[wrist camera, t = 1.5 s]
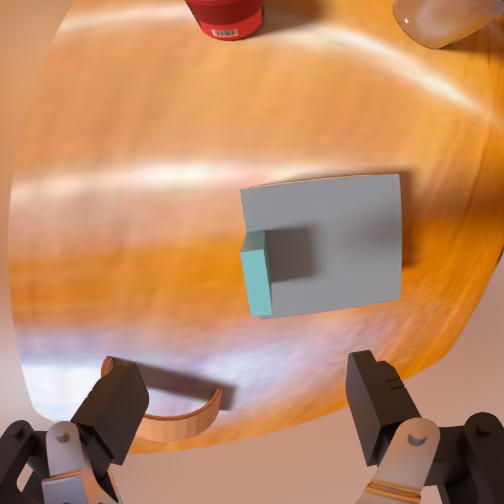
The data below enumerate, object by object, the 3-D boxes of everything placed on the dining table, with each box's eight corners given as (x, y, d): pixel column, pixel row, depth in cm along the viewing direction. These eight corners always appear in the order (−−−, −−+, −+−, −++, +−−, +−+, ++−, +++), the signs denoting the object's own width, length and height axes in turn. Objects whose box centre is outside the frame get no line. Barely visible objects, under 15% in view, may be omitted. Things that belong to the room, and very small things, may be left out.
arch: (218, 410, 42) (209, 456, 33) (110, 378, 42) (85, 415, 33) (223, 387, 41) (213, 436, 31) (107, 354, 41) (78, 391, 31)
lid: (390, 173, 25) (432, 177, 17) (393, 291, 28) (425, 328, 21) (242, 188, 26) (231, 197, 19) (260, 310, 30) (257, 356, 22)
